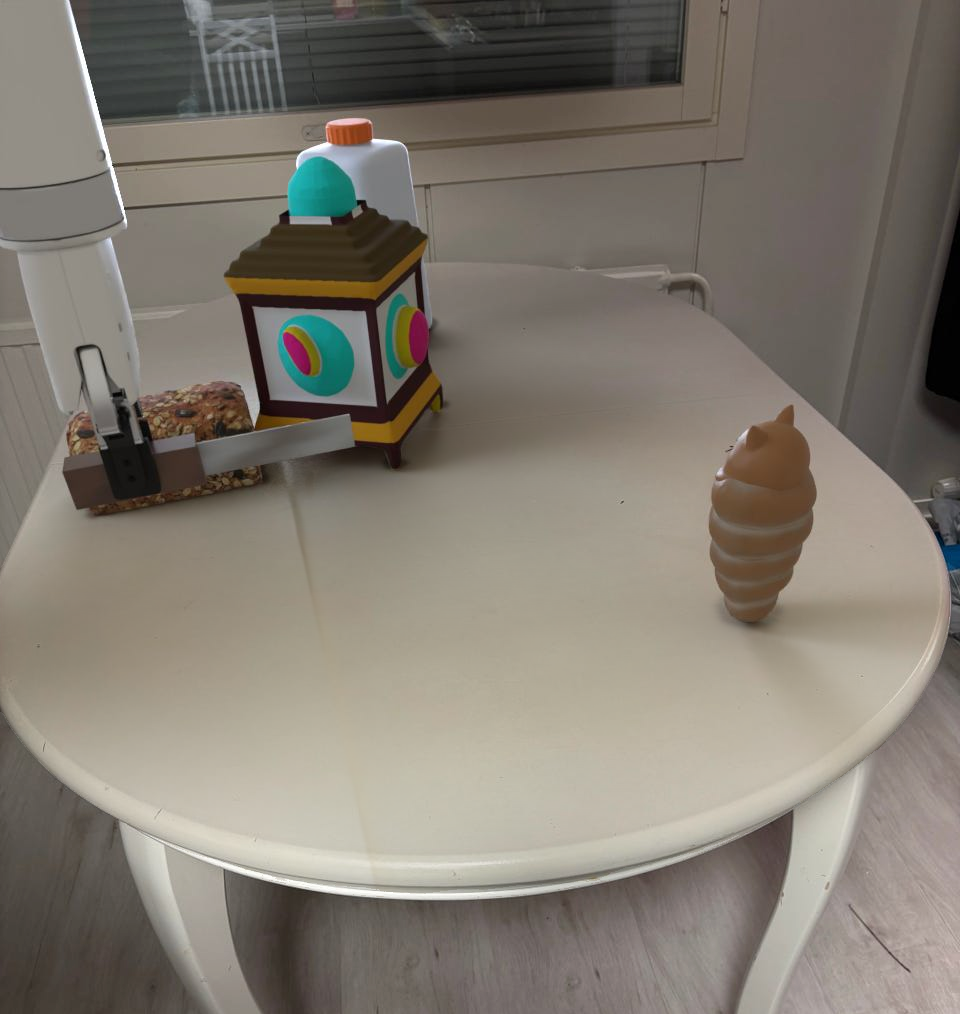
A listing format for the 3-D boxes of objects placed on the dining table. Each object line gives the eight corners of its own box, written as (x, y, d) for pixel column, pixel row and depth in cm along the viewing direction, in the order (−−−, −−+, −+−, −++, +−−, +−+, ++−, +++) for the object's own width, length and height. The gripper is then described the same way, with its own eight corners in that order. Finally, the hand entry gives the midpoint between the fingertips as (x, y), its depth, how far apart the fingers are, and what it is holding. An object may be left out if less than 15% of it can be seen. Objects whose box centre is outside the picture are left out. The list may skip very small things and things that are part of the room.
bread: (255, 451, 111) (238, 368, 105) (268, 491, 103) (250, 403, 97) (88, 481, 107) (61, 396, 101) (88, 526, 99) (58, 436, 93)
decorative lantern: (458, 405, 119) (440, 136, 101) (407, 479, 104) (376, 178, 86) (309, 396, 124) (267, 137, 105) (240, 466, 108) (177, 177, 90)
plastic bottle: (301, 345, 139) (265, 130, 122) (360, 313, 149) (335, 110, 132) (388, 360, 132) (363, 134, 116) (443, 325, 143) (428, 113, 126)
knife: (76, 510, 67) (61, 471, 65) (78, 495, 68) (64, 457, 67) (358, 454, 70) (351, 416, 68) (352, 441, 72) (346, 404, 70)
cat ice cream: (738, 578, 85) (763, 385, 75) (816, 613, 81) (855, 412, 70) (675, 620, 81) (693, 421, 70) (754, 660, 76) (786, 452, 65)
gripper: (5, 188, 63) (89, 447, 74) (-30, 250, 50) (78, 551, 61) (123, 175, 64) (188, 431, 75) (118, 232, 51) (197, 529, 62)
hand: (138, 483), depth 68 cm, fingers closed on knife, 2 cm apart
